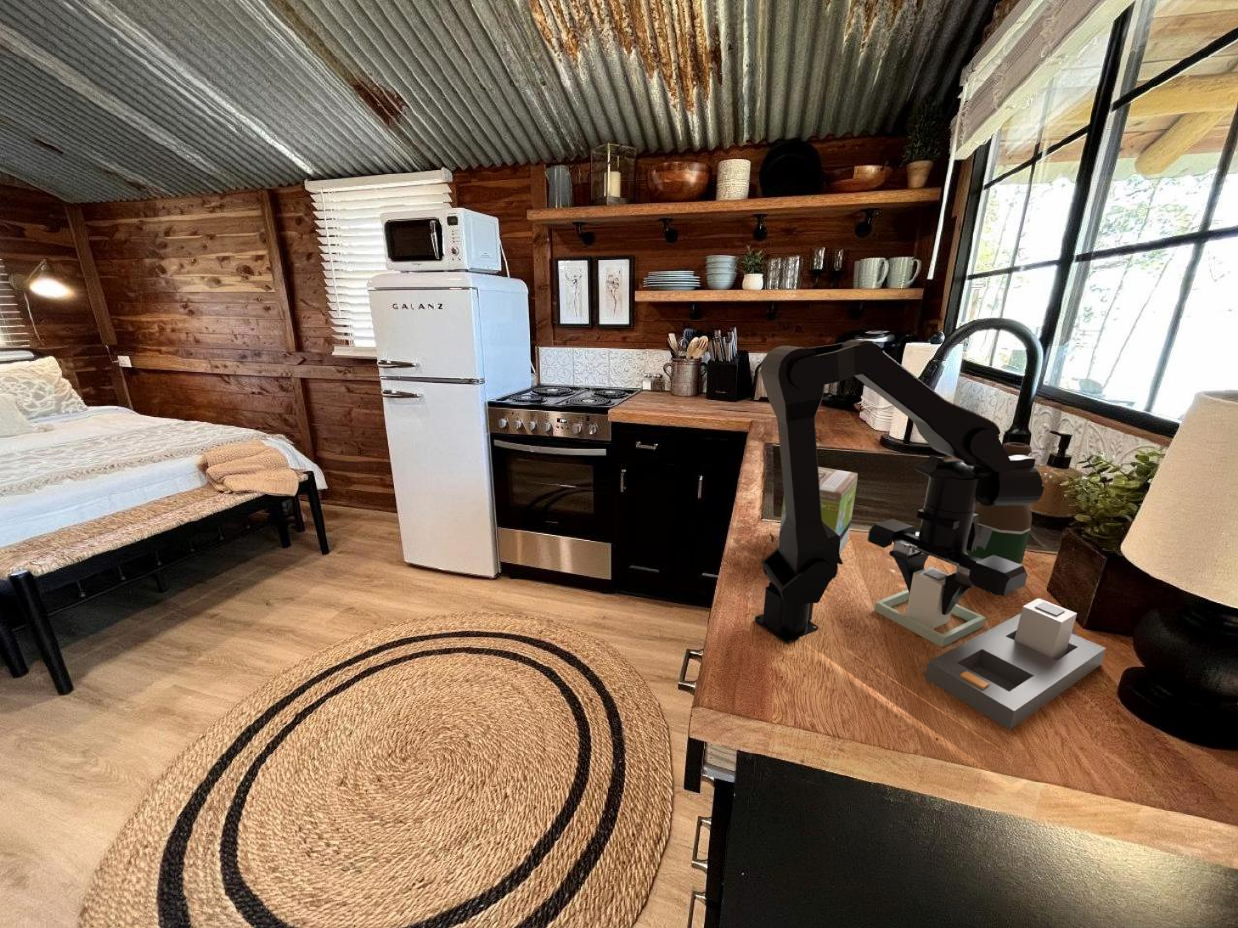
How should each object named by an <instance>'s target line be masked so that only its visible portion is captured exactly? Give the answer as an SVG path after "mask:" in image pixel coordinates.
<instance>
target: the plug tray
mask: <svg viewBox="0 0 1238 928" xmlns="http://www.w3.org/2000/svg"><path fill="white" fill-rule="evenodd" d="M909 595H910V594H909V591H908V588H907V589H906V590H902V591H900V592H897V593H895V594H892V595H890V596H887V597H885V598H883V599H880V600H878V601H875V604H874V609H873V610H874V612H876V613H879V614H880V615H882V616H884V617H885V618H887V619H889V620H890V621H893V622H894V623H896V624H898V625H900V626H902V627H903V628H905V629H908V630H909V631H911V632H913V633H915V634H916V635H918V636H920V637H923V638H924V639H926V640H928V641H930V642H931V643H933V644H935V645H938V646H939V647H941V648H944V647H946V646H948V645H950V644H952V643H954V642H956V641H958V640H960V639H962V638H963V637H966V636H968V635H970V634H971V633H974V632H976V631H977V630H979V629H981V628H984V626H985V623H986V618H987V617H985V616H984V615H981V614H979V613H977V612H975V611H972V610H971V609H969V608H966V607H964V606H962V605H959V604H958V603H956V605H955V606H954V607H953V609H952V613H951V615H954V616H957V617H959V618H961V619H963V620H965V621H967V622H965V623H963V624H961V625H959V626H957V627H955V628H952V629H950V630H949V631H946V632H944V633H941V632H938V631H936V630H935V629H932V628H930V627H928V626H926V625H924V624H922V623H920V622H918V621H916V620H914V619H912V618H910V617H908V616H907V615H906V614H904V613H902V612H901V611H898V610H896V609H894V608H893V607H895V606H898V605H900V604H902V603H904V602H908V601H909Z"/></svg>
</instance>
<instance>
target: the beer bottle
mask: <svg viewBox="0 0 1238 928" xmlns="http://www.w3.org/2000/svg"><path fill="white" fill-rule="evenodd" d="M1002 445H1003V447H1004V449H1005V451H1006V453H1007V455H1008V457H1009V456H1013V455H1025V456H1028V457H1029V456H1030V454H1031V453H1033V452H1032V451H1033V450H1032V446H1030V445H1028V444H1026V443H1023V442H1015V441H1014V442H1013V441H1009V442H1005V443H1003V444H1002ZM974 513H975V514H978V518H979V519H978V524H979V525H982V526H985V527H988V528H991V529H993V531H992V533H991V536H990V538H989V541H988V543H987V546H986V548H985V549H982V548H980V547H977V548H976V550H974V551H969V550H967V551H966V553H965V554H967V555H969V556H972V557H977V558H980V559H985V558H987V557H990V556H992V555H995V556H998V557H1001V558H1004V559H1007V560H1009V561H1012V562H1015V563H1018V564H1021V565H1023V561H1024V556H1025V553H1026V549H1027V546H1028V545H1027V543H1028V541H1029V536H1030V532H1031V527H1032V520H1033V515H1032V509H1031V505H1014V506H985V505H982V504H980V503H979V502H978V501H976V505H975V510H974Z"/></svg>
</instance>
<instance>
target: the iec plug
mask: <svg viewBox="0 0 1238 928" xmlns="http://www.w3.org/2000/svg"><path fill="white" fill-rule="evenodd" d="M948 575H950V574H949V573H947V572H944V571H943V570H939V569H937V568H935V567H933V566H928V567H924V569H922V570H920V571H917V572H914V573H913V578H912V584H911V590H910V595H909V600H907V607H906V613H905V615H906V616H908V617H910V618H912V619H914V620H916V621H918V622H920V623H922V624H923V625H925V626H927V627H929V628H931V629H933V630H935V629H937V628H939V627H942V626H944V625H946V624H947V623H949V622H950V621H951V617H952V610H951V611H950V613H949V614H947V615H943V614H942V600H943V593H944V586H945V579H946V576H948Z"/></svg>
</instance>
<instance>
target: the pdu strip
mask: <svg viewBox="0 0 1238 928" xmlns="http://www.w3.org/2000/svg"><path fill="white" fill-rule="evenodd" d="M1020 616H1021V612H1020V613H1019V614H1017V615H1015V616H1012V617H1011V618H1009V619H1007V620H1005V621H1003V622H1001V623H999V624H998V625H996V626H994V627H992V628H990V629H988V630H986V631H984V632H983V633H979V634H978V635H976V636H975V637H973V638H971V639H969V640H967V641H965V642H963V643H961V644H959V645H957V646H956V647H954V648H951V649H950V650H948V651H946V652H944V653H942V654H940V655H938V656H936V657H934V658H932V659H930V660H929V661H928V662H927V668H926V672H925V678H924V679H925V680H926V681H928V682H930V683H931V684H933V685H934V686H936V687H938V688H940V689H941V690H943V691H944V692H946V693H948V694H949V695H951V696H953V697H955V698H956V699H958V700H959V701H961V702H962V703H964V704H966V706H967V705H968V706H969V707H970V708H972V709H974V710H976V711H977V712H979V713H980V714H982V715H984V716H985V717H987V718H989V719H990V720H992V721H994V722H995V723H997V724H998V725H1000V726H1002V727H1004V728H1005V729H1006V730H1008V731H1011V730H1012V729H1013V728H1014V727H1016V726H1017V725H1018V724H1020V723H1021V722H1023V721H1024V720H1026V719H1027V718H1029V717H1030V716H1031V715H1033V714H1034V713H1035V712H1037V711H1038V710H1039V709H1041V708H1042V707H1044V706H1045V705H1047V704H1048V703H1050V702H1051V701H1052V700H1054V699H1055V698H1057V697H1058V696H1059V695H1061V694H1062V693H1064V692H1065V691H1066V690H1068V688H1070V687H1072V686H1073V685H1074V684H1076V683H1077V682H1079V681H1080V680H1081V679H1083V678H1085V677H1086V676H1087V675H1088V674H1090V673H1091V672H1093V671H1094V670H1096V669H1097V668H1099V667H1100V666H1101V665H1102V663H1103V658H1104V656H1105V653H1106V650H1107V648H1106V647H1104V646H1102V645H1100V644H1097V643H1095V642H1092V641H1090V640H1087V639H1085V638H1083V637H1081V636H1079V635H1077V632H1076V631H1075V629H1072V633H1071V636H1070V640H1069V643H1068V647H1067V650H1066V654H1065V656H1063V657H1062V658H1060V659H1059V660H1055V659H1053V658H1050V657H1048V656H1046V655H1044V654H1042V653H1040V652H1038V651H1036V650H1034V649H1031V648H1029V647H1027V646H1025V645H1023V644H1021V643H1019V642H1017V641H1014V640H1015V636H1016V632H1017V628H1018V624H1019V620H1020Z"/></svg>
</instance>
